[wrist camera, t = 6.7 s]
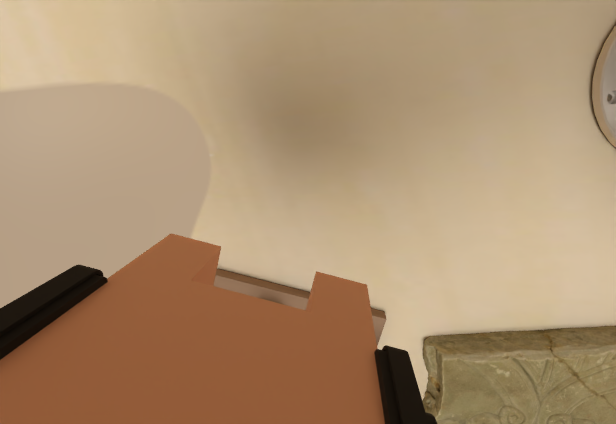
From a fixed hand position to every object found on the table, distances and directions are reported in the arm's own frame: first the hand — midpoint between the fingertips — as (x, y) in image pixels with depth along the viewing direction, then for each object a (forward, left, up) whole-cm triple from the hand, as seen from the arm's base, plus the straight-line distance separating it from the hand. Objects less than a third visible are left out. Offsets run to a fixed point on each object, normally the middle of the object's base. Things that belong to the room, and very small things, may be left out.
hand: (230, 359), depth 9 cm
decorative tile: (+16, +24, -21) cm, 36 cm away
